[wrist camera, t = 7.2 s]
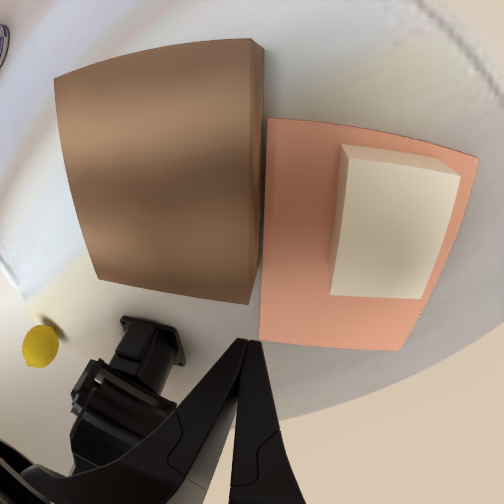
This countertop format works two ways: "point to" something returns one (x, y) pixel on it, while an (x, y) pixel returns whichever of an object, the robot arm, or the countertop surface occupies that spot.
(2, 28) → the energy drink
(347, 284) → the cream rectangular block
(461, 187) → the mat
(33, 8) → the countertop surface
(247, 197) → the board
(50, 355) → the lemon
